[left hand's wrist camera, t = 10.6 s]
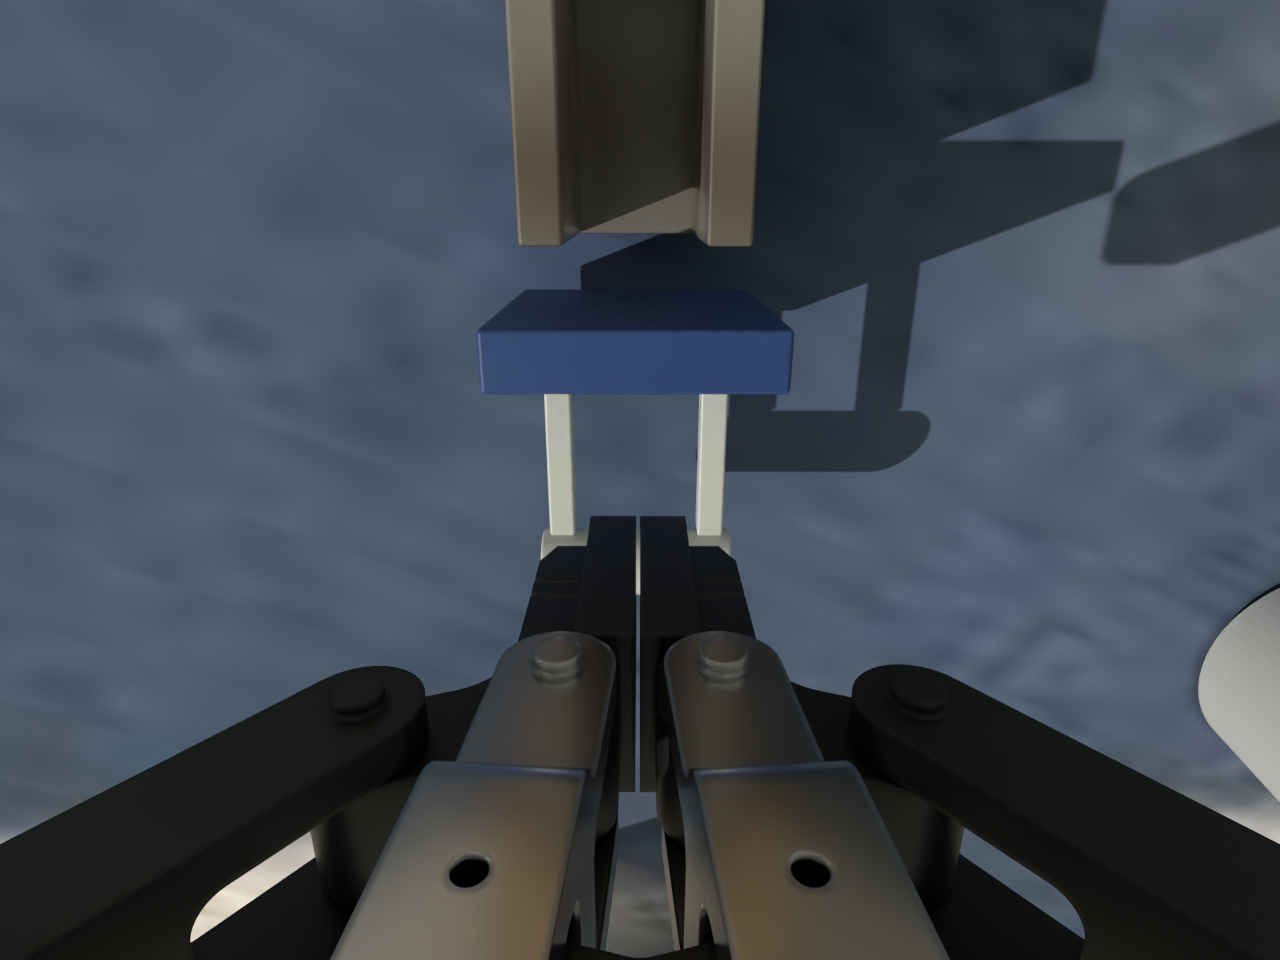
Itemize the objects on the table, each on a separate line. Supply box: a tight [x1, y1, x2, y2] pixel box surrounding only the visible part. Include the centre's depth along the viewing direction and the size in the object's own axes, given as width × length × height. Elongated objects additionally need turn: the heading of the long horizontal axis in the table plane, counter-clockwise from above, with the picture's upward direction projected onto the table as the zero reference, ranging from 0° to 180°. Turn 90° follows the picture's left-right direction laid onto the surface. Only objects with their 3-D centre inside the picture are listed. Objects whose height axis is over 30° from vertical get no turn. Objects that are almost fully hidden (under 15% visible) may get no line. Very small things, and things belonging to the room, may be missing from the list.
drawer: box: [476, 0, 794, 595], centre depth 15 cm, size 23×6×6 cm, turn 0°
